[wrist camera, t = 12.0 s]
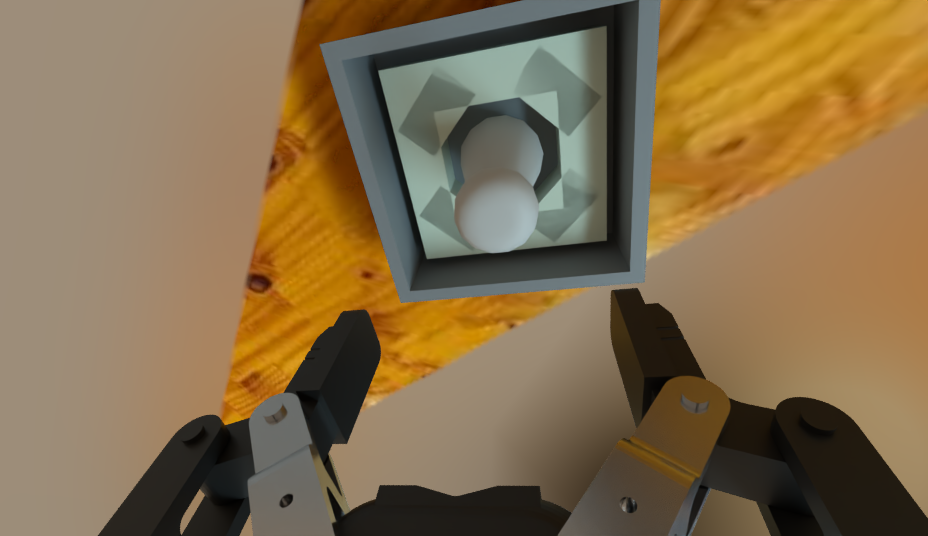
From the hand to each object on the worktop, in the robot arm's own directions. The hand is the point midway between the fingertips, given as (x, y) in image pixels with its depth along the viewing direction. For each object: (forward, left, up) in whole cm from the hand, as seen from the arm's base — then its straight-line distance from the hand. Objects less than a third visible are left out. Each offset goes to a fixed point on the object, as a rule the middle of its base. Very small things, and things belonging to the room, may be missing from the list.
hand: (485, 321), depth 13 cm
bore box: (0, 0, -21) cm, 21 cm away
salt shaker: (0, 0, -21) cm, 21 cm away
